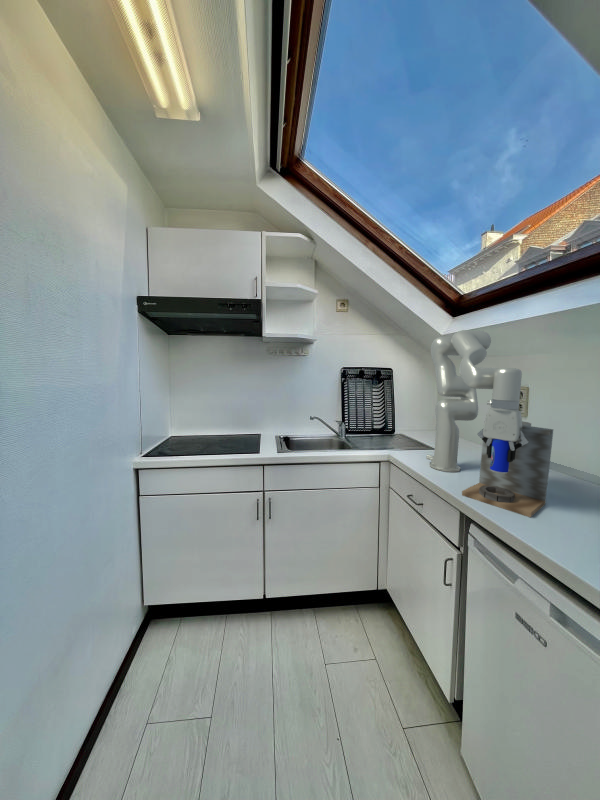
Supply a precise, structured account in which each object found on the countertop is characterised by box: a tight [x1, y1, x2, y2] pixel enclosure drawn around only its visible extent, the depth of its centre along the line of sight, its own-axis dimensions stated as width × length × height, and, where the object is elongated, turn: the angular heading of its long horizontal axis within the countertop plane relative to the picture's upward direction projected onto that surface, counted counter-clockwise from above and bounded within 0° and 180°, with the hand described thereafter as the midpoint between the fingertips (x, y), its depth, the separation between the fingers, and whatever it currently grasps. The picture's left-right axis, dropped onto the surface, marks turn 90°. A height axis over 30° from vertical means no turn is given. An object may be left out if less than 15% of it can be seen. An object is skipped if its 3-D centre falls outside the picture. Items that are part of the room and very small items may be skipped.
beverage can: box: [490, 439, 510, 474], centre depth 101 cm, size 5×5×15 cm
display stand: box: [461, 425, 554, 518], centre depth 103 cm, size 20×16×26 cm
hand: (500, 458), depth 101 cm, fingers closed on beverage can, 5 cm apart
